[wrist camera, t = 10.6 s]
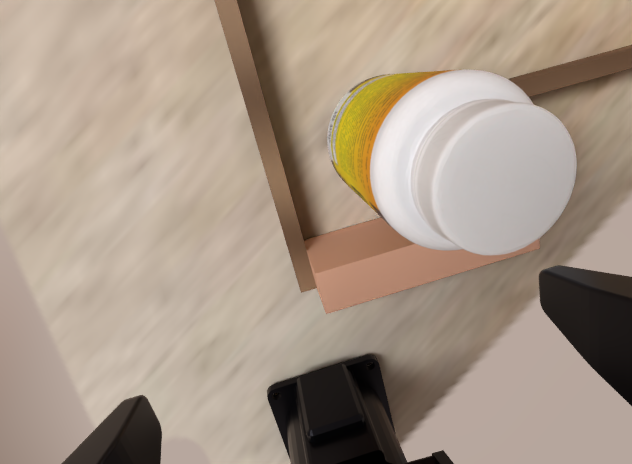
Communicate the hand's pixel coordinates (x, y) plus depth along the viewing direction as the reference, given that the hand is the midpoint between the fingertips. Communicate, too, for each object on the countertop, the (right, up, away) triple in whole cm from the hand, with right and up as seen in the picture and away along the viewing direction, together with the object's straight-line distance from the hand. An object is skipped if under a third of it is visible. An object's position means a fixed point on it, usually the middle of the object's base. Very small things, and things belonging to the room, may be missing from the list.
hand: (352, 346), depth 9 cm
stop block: (+4, +3, +13) cm, 13 cm away
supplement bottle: (+2, +7, +11) cm, 13 cm away
